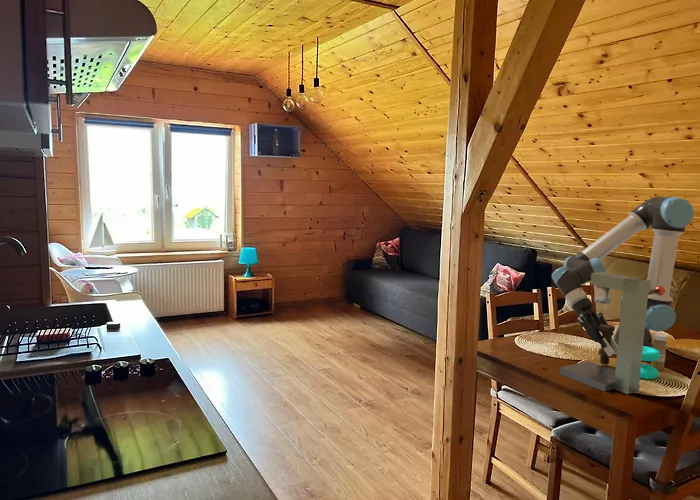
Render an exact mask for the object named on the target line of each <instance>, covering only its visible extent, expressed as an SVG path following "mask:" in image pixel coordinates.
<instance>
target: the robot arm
mask: <svg viewBox="0 0 700 500" xmlns="http://www.w3.org/2000/svg"><path fill="white" fill-rule="evenodd" d="M694 211H695V210H694V207H693V205H692V204H691V203H690V201H688V200H686V199H685V198H682V197H678V196H655V197H651V198H648V199H647V200H645V201H644V202H642V203H640V205H638V206H637V207H635V208H634V209H632V210H631V211H630V212H628V216H627V217H625V218H624V219H623V220H621V221H620V222H618V224H616V225H615V226H614V227H612V228H611V229H610V230H608V231H606V233H604V234H603V235H602V236H600V237H598V239H596V240H595V241H593V243H591V244H590V245H588V246H587V247H585V248H584V249H583V250H581V251H579V252H578V253H577V254H576V255H571V256H568V257H567V258H566V259H565V260H564V263H563V266H561V267H559V268H556V270H554V271H553V272H552V274H551V279H552V280H553V282H554V284H555V286H557V288H558V290H559V291H560V292H561V294H562V295H563V297H564V298H565V300H566V301H567V303H568V304H569V306H571V309H572V310H573V312H574V313H575V315H577V316H579V317H577V319H576V321H577V322H578V323H579V324H580V325H581V327H582V328H583V329H584V330H585V332H586V333H587V334H588V336H589V337H590V339H591V340H592V341H594V343H597V342H598V344H599V346H600V347H601V346H602V348H603V349H604V350H605V352H606V353H607V355H608V356H609V357H612V356H613V355H614V356H617V351H618V340H619V329H620V322H619V323H618V327H617V329H616V330H615V332H614V331H612V335H611V345H609V343H608V342H607V340H606V339H605V338H603V337H602V330H600V325H601V324H609V323H608V322H607V320H606V319H605V317H604V314H603V313H602V312H601V311H600V312H597V311H596V310H595V309H594V303H593V302H592V301H591V299H590V298H589V297H588V295H587V293H586V292H585V291H584V289H583V287H582V286H583V285H585V284H587V283H589V282H591V273H597V272H605V273H606V268H605V266H604V263H603V262H602V261H601V260H602V259H603V258H605V257H606V256H608V255H609V254H610V253H612V252H613V251H615V250H616V249H617V248H619V247H620V246H621V245H623V244H624V243H625V242H627V241H628V240H629V239H631V238H632V237H633V236H635V235H636V234H638V233H639V232H641V231H646V230H648V229H649V228H650V230H651V231H652V232H653V233H654V235H653V239H652V240H653V242H652V248H651V254H650V260H649V266H648V272H647V277H646V280H651V286H650V290H652V289H655V288H656V287H657V286H662V287H664V288H665V293H664V294H663V295H657V294H651V295H648V300H647V311H646V321H645V331H644V341H643V346H646V347H651V348H653V342H654V340H653V337H652V335H651V331H652V332H655V333H661V332H664V331H666V330H669V329H670V328H671V327H673V325H674V324H675V322H676V319H677V315H676V314H677V313H676V312H675V310H674V308H673V307H672V306H673V301H674V300H673V298H672V297H671V296H670V292H671V286H672V280H673V274H674V268H675V263H676V256H677V251H678V247H679V246H678V245H679V239H680V237H681V235H683V234H684V233H686V227H687V226H688V225H689V224H691V223H692V221H693V219H694V216H695V213H694ZM622 296H623V293H622ZM622 296H621V297H622ZM621 307H622V298H621V299H620V308H621ZM619 312H620V313H619V319H620V318H621V311H619ZM602 338H603V339H602Z"/></svg>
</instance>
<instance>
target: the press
mask: <svg viewBox="0 0 700 500" xmlns="http://www.w3.org/2000/svg"><path fill="white" fill-rule="evenodd" d="M590 285H591V286H595V291H594V303H597V304H603V305H604V304H606V305H607V304H610V303H611V297H612V289H613V290H616V291H621V292H622V294H623V296H621V299H622V307H621V306H620V312H621V318H620V317H619V323H620V329H619V340H618V344H617V345H618V351H617V355H616V362H615V369H613V368H610V367H608V366H607V367H606V366H604V365H602V364H601V365H600V364H598V363H595V362H592V361H589V360H586V361H581V362H577V363H574V364H570V365H565V366H562V367H559V375H561V376H563V377H565V378H568V379H570V380H573V381H576V382H579V383H581V384H583V385H586V386H590V387H592V388H594V389H597V390H600V391H602V392H608V391H611V390H616V391H618V392H621V393H623V394H627V395H630V394H633V393H637V392H639V389H640V381H641V378H640V372H641V364H642V361H643V360H642V351H643V341H644V331H645V321H646V311H647V300H648V295H651V294H657V295H663V294H664V293H665V288H664V287H662V286H657V287H656V288H655V289H652V290H650V286H651V280H647V279H645V278H639V277H633V276H628V275H621V274H616V273H610V272H606V271H605V272H597V273H591V281H590ZM636 391H637V392H636Z"/></svg>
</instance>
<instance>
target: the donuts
mask: <svg viewBox="0 0 700 500" xmlns="http://www.w3.org/2000/svg"><path fill="white" fill-rule="evenodd" d="M660 356H661V354H660V352H659V351H658V350H656V349H654V348H653V347H646V346H643V351H642V361H644V362H651V361H655V360H658V359H659V358H660ZM659 375H660V372H659V370H657V369H656V368H654V367H653V366H651V364H646V363H641V372H640V379H642V378H643V379H644V380H654V379H657V378H658V377H659Z"/></svg>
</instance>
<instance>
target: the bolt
mask: <svg viewBox="0 0 700 500" xmlns="http://www.w3.org/2000/svg"><path fill="white" fill-rule="evenodd" d="M600 330H602V333H601V335H602V337H603V338H605V339H606V340H607V342H608V343H609V345H611V335H612V331H613V332H616V326H615V325H613V324H609V323H608V324H601V325H600ZM603 338H602V339H603ZM600 347H601V348H599V349H598V355H599V358H600V359H599V363H600V364H601V365H605V366H606V365H609V364H610V356H608V355H607V353H606V352H605V350H604V349H603V348H602V346H601V345H600Z"/></svg>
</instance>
